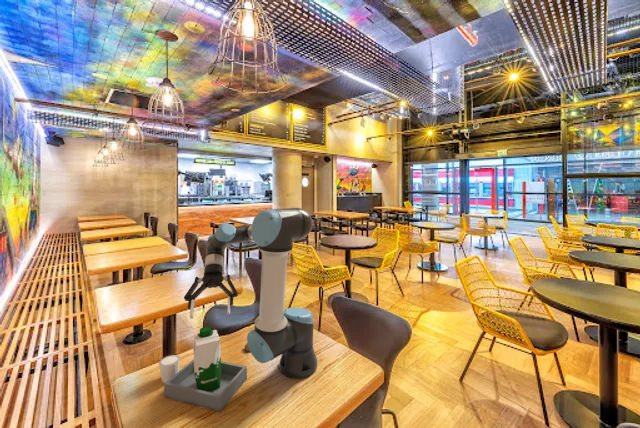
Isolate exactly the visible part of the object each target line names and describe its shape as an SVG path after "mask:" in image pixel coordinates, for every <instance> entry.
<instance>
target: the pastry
mask: <svg viewBox="0 0 640 428" xmlns="http://www.w3.org/2000/svg"><path fill="white" fill-rule="evenodd" d="M244 350H245V351H247V352H251V351H250V349H249V347H248V343H246V344H245V345H244Z"/></svg>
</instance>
